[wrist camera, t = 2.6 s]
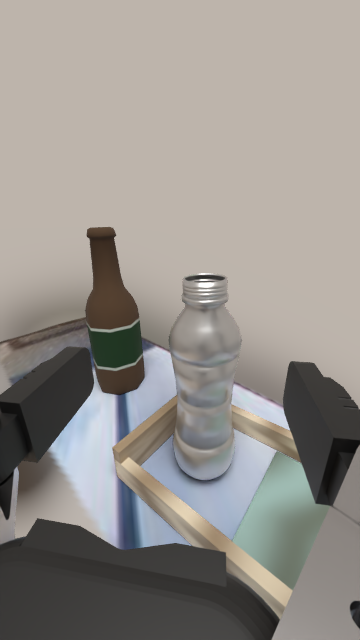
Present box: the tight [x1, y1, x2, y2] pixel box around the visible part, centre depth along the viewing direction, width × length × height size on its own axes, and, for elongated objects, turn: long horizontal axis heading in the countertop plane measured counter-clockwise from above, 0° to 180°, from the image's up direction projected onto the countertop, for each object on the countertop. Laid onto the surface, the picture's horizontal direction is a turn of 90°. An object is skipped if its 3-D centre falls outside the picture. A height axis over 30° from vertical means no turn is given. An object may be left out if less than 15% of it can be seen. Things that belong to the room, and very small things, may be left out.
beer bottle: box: [85, 227, 144, 395], centre depth 37 cm, size 8×8×24 cm
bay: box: [113, 395, 330, 619], centre depth 23 cm, size 24×14×4 cm, turn 51°
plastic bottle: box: [169, 274, 242, 480], centre depth 23 cm, size 6×7×20 cm
